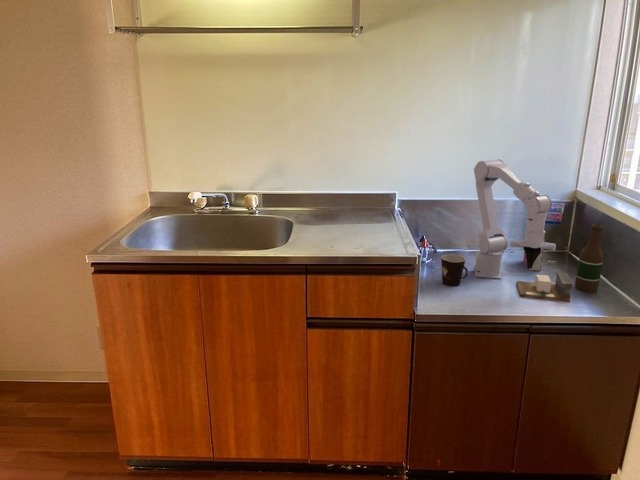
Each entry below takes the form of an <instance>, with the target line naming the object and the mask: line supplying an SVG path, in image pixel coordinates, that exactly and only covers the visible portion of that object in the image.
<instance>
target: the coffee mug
mask: <svg viewBox="0 0 640 480" xmlns="http://www.w3.org/2000/svg"><path fill="white" fill-rule="evenodd" d="M440 258H441V259H440V261H441V280H442V281H441V284H442V285H445V286H447V287H460V285H461V282H462V280H463V279H465V278H467V276H468V269H467V268H466V267H465V264H466V257H465V256H463V255H459V254H456V253H455V254H454V253H447V254H446V253H445V254H442V255H441V257H440ZM464 270H465V274H464V273H463V272H464ZM463 274H464V276H463Z"/></svg>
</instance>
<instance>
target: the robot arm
mask: <svg viewBox="0 0 640 480" xmlns="http://www.w3.org/2000/svg"><path fill="white" fill-rule="evenodd" d="M473 172H474V173H473V174H474V179H475V188H476V193H477V195H476V196H477V200H478V205H479V206H478V207H479V211H480V217H481V224H482V228H483V229H482V231H481V232H480V233H479V234H478V242H477V243H478V244H477V245H478V250H479V251H476V254H475V261H474V268H473V270H474V277H478V278H489V279H496V280H497V279H502V274H501V265H502V258H503V257H502V256H503V254H504V251H506V250H507V249H508V247H510V248H514V247H515V248H523V251H525V255H526V260H527V266H526V268H527V269H528V268H530V269H532V266H533V264H534V262H535V260H536V258H537V257H538V256H539V255H540V253H541V249H543V250H550V251H554V252H555V251H556V249H557V245H556V243H554V242H553V243H552V242H546V241H545V242H542V239H543V233H544V230H545V224H546V220H547V219H546V218H547V212H549V211H550V210H551V209H552V205H553V203H552V199H551V198H550V197H549V196H548V195H547V194H541V193H540V191H537V190H536V189H535V188H534V187H533V186H532V185H531V183H530V182H528V181H527V182H526V181H521V180H520V179H519V178H518V177H517V176H515V174H514V173H513V172H512V171H511V170H510V169H509V168H508V164H507V163H506V162H504V160H502V159H495V160H494V159H492V160H480V161H478V162H477V163H476V165H475V167H474V168H473ZM499 179H500V180H501V181H502V182H504V183H505V184H506V185H508V186H509V187H510V188H511V189H513V190H512V191H513V192H512V193H513V195H514V196H515V197H516V198H518V199H519V201H521V203H523V204H524V208H525V211H526V218H527V219H526V224H525V230H524V231H525V233H524V237H523V238H524V239H519V240H514V239H513V240H512V239H510V240H509V241H508V238H507V237H506V234H505V231H504V230H503V229H502V228H500V227H499V223H498V217H497V211H496V205H495V200H494V196H493V195H494V194H493V189H492V187H493V184H494V183H495V182H497V180H499Z"/></svg>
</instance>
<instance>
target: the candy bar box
mask: <svg viewBox="0 0 640 480" xmlns="http://www.w3.org/2000/svg"><path fill="white" fill-rule="evenodd" d="M542 242H546V231H545V229H544V233H543V239H542ZM523 251H524V250H523ZM523 253H524V254H523V259H522V261H523V262H524V264H525V266H526V267H527V260H526V255H525V251H524V252H523ZM543 256H544V249H541V253H540V255H539V256H538V257H537V258H536V260H535V262H534V264H533V266H532V269H530V268H527V270H528V271H532V272H533V271H535V272H541V270H542V264H543V263H542V262H543Z"/></svg>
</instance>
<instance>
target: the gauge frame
mask: <svg viewBox="0 0 640 480" xmlns="http://www.w3.org/2000/svg"><path fill="white" fill-rule="evenodd" d="M555 283H556V286H555V287H551V288H550V293H548V292H545V293H546V295H544V293H543V292H538V291H537V289H536V287H535V281H534V282H533V281H532V282H531V281H521V280H516V282H515V284H516V288H517V290H518V296H519V298H523V299H525V298H526V299H535V300H536V299H537V300H546V301H554V302H564V303H570V302H571V296H572V295H571V293H572V289H573V283H572V282H571V280H570V277H569V276H568V274H567V273H566V272H563V273H562V272H557V273H556V277H555Z"/></svg>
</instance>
